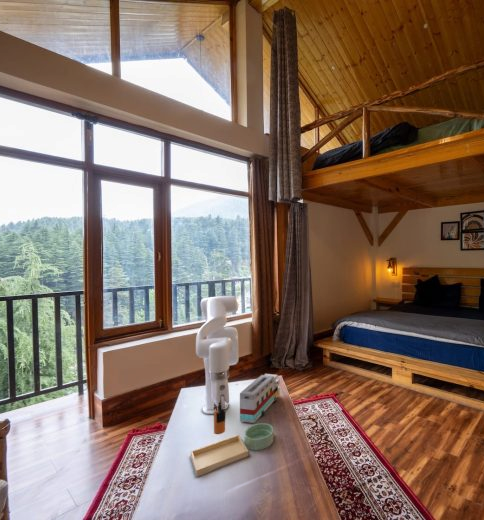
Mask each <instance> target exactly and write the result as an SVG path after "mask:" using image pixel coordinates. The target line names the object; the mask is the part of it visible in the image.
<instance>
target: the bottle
mask: <svg viewBox="0 0 484 520" xmlns="http://www.w3.org/2000/svg"><path fill="white" fill-rule="evenodd" d="M220 407H221V406H219V409H220ZM225 432H226V420H225V421H223V422H219V423H217V406H216V408H215V409H214V414H213V434H215V435H222V434H224V433H225Z"/></svg>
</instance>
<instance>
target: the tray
mask: <svg viewBox="0 0 484 520" xmlns="http://www.w3.org/2000/svg"><path fill="white" fill-rule="evenodd" d="M246 457H249V449H248V448H246V446H245V442H244V441H243V439H242V438H241V436H240V434H237V435H233V436H231V437H228V438H225V439H223V440H219V441H217V442H213V443H211V444H208V445H205V446H201V447H199V448H196V449H193V450H190V459H191V463H192V466H193V469H194V473H195V476H196V478H198V477H200V476H203V475H205V474H208V473H211V472H213V471H215V470H216V469H218V468H221V467H223V466H226V465H228V464H231V463H233V462H236V461H239V460H241V459H243V458H246Z"/></svg>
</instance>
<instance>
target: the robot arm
mask: <svg viewBox="0 0 484 520" xmlns="http://www.w3.org/2000/svg"><path fill="white" fill-rule="evenodd" d="M200 310H201V313H202V315H203V316H204V319H205V323H203V324H202V325H201V326H200V328H199V329H198V331H197V333H196V336H195V355H196V356H197V357H198V358H199V359H203V364H204V373H205V375H204V376H205V404H204V405H202V412H203V413H204V414H206V415H214V409H215V408H216V406H217V423H219V422H223V421H225V422H226V410H227V409H228V408H229V404H230V389H229V388H230V387H229V377H230V366H234V365H237V364H238V363H239V358H240V356H239V353H240V352H239V351H240V350H239V349H240V348H239V332H238V329H237V328H236V327H234V326H229V327H228V326H227V327H225V326H226V325H227V321H228V319H227V318H228V317H227V314H233V313H237V312H238V311H239V300H238V298H237V296H236V295H220V296H219V295H217V296H210V297H205V298H203V299H201V301H200ZM219 406H221V407H220V409H219Z"/></svg>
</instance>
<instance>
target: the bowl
mask: <svg viewBox="0 0 484 520" xmlns="http://www.w3.org/2000/svg"><path fill="white" fill-rule="evenodd" d="M273 443H274V427H273V426H272V424H269V423H264V422H263V423H256V424H255V423H254V424H253V425H250V426H249V427H248V428H247V429H246V430H245V431H244V444H245V446H246V448H247V449H248V450H250V451H260V450H261V451H262V450H264V449H267V448H268V447H270V446H271V445H272V444H273Z"/></svg>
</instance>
